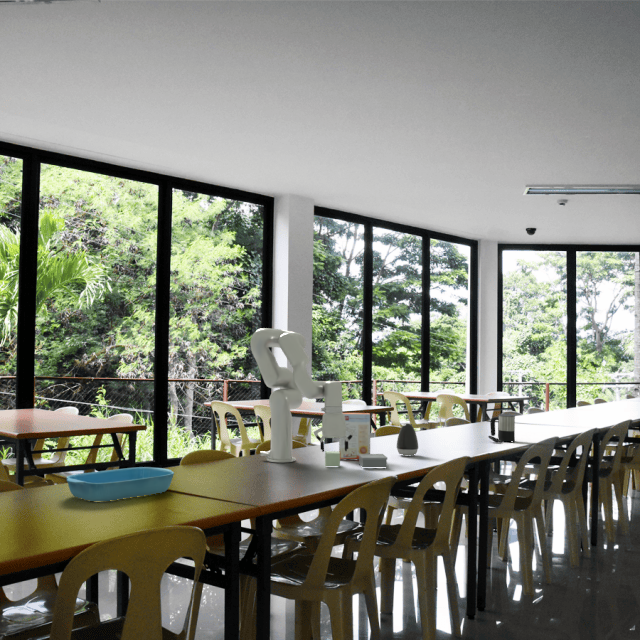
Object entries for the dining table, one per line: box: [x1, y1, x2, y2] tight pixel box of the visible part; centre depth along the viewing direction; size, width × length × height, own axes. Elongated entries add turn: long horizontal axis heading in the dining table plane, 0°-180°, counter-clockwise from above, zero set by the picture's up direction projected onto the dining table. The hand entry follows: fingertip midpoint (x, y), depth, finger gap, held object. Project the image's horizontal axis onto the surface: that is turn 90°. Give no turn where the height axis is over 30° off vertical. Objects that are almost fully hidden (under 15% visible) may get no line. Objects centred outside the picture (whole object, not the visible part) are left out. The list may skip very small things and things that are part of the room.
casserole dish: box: [66, 466, 175, 502], centre depth 228 cm, size 37×22×7 cm, turn 138°
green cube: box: [324, 450, 341, 467], centre depth 289 cm, size 6×6×6 cm
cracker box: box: [338, 412, 371, 459], centre depth 309 cm, size 14×6×21 cm, turn 84°
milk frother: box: [487, 413, 516, 443], centre depth 378 cm, size 14×16×15 cm
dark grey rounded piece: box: [396, 422, 419, 456], centre depth 323 cm, size 10×10×15 cm
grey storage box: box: [358, 453, 388, 467], centre depth 289 cm, size 11×11×5 cm
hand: (334, 451), depth 289 cm, fingers open, 9 cm apart
